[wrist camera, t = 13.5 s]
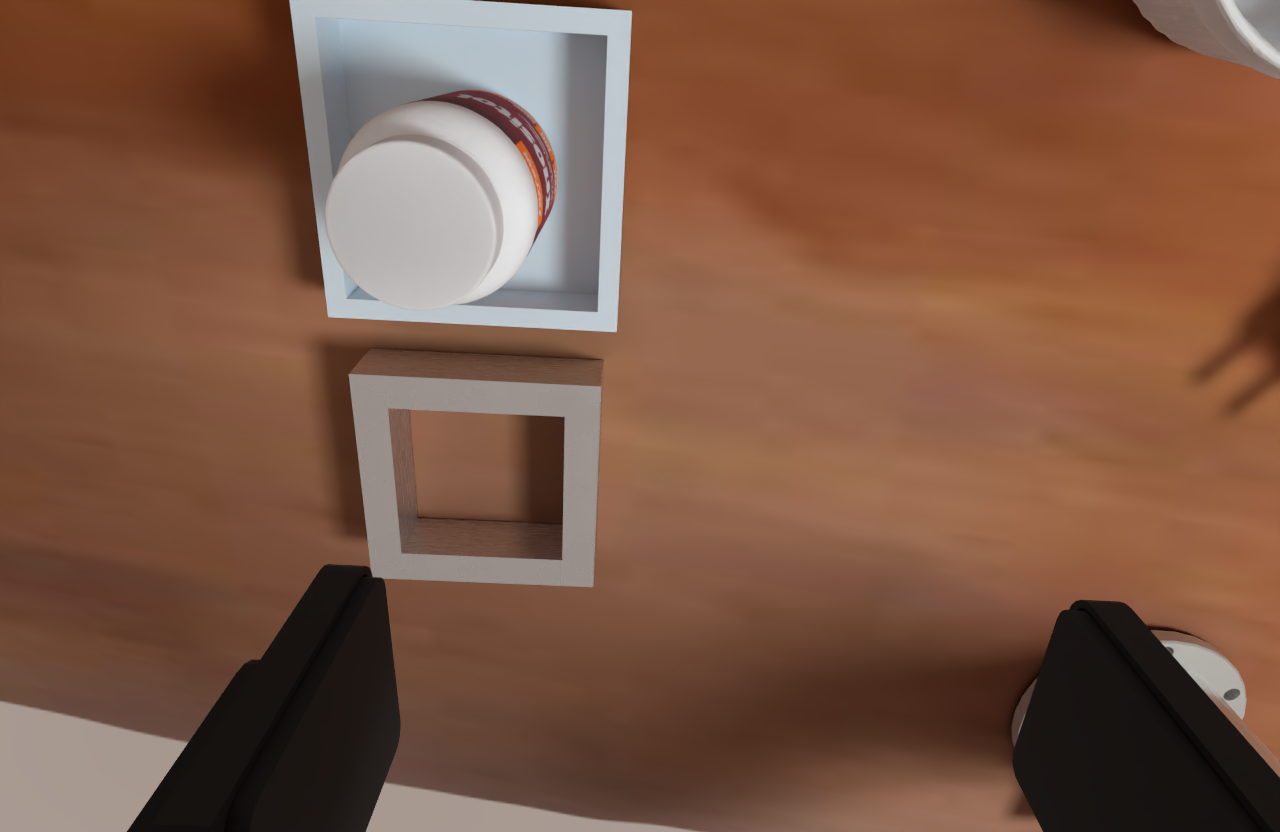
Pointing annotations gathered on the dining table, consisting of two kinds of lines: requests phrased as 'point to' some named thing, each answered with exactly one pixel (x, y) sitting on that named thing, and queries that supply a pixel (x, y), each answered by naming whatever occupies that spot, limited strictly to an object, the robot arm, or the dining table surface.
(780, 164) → the dining table surface
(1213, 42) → the ramekin
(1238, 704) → the robot arm
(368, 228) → the pill bottle
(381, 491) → the holder
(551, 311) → the tray
